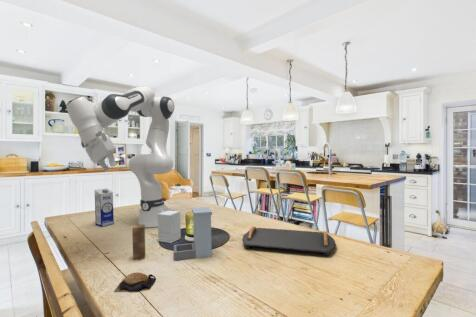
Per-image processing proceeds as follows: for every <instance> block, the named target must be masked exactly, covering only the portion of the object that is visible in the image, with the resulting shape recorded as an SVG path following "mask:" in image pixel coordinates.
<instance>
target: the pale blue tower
mask: <svg viewBox="0 0 476 317" xmlns="http://www.w3.org/2000/svg"><path fill="white" fill-rule="evenodd" d="M191 211H192V214H193V215H192V218H193V219H192V220H193V242H190V243H182V244H181V243H179V244H173V262H175V261H176V262H177V261H182V260H191V259H192V260H193V259H199V258H200V259H201V258H209V257H213V256H212V255H213V254H212V253H213V252H212V215H213V211H212V209H211V208H210V206H206V207H205V206H204V207H192V208H191Z"/></svg>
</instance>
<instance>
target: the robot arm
mask: <svg viewBox="0 0 476 317" xmlns="http://www.w3.org/2000/svg"><path fill="white" fill-rule="evenodd" d="M66 111H67V114H68V116H69V118H70V120H71V122H72V124H73V126H75V128H76V130H77V133H78V136H79V137H80V140H81V141H80V142H81V143H80V145H81V147H82V149H85V151H86V153H87V155H88V157H89V160H91V162H92V163H93V164H96V165H97V164H98V165H99V166H100V168H102V170H103V171H104V172H107V171H108V170H110V167H114V166H116V165H117V162H116V160H115V155H114V154H113V153H115V152H116V150H117V149H116V146H115V145H114V142H113V141H112V139H111V137H110V136H109V135H108V134H106V132H105V130H104V129H106V128H108V127H110V126H112V125H113V124H115V123H116V122H117V121H119V120H120V119H123V118H125V117H127V115H129V113H130V112H133V113H135V112H136V113H137V114H138V115H139V117H144V118H151V123H150V124H149V128H148V131H147V135H146V139H145V144H146V146H147V147H148V148H149V149H151V150H150V151H151V152H150V153H147V154H138V155H133V156H131V157H130V158H129V160H128V169H129V170H130V171H131V172H132V173H133V175H135V177H136V178H137V180H138V182H139V183H138V184H139V186H140V197H141V198H140V201H139V204H140V208H139V214H138V215H139V217H138V221H137V225H144V224H145V228H158V214H159V213H162V212H165V211H172V210H171V208H169V207H168V205H166V204H165V202H166V201H167V197H163V189H162V188H163V185H162V183H161V182H160V181H158V180H157V179H156V178H155V175H163V174H168V173H170V172H171V171H172V169H173V167H174V160H173V159H172V157H171V156H170V155H169V153H168V151H167V143H168V142H167V141H168V136H169V131H170V118H171V117H172V115H173V114H174V111H175V102H174V101H173V99H172V97H169V96H156V94H155V92H154V90H153V89H152V87H150V86H147V85H143V86H142V85H141V86H137V87H133V88H130V89H129V90H127V91H126V92H124V93H123V94H117V93H110V94H108V95H107V96H106V97H105V98H103V99H102V100H101V101H100V102H98V103H95V102H92V101H90V100H88V99H87V98H86V97H85V96H77V97H75V98H74V99H72V100H70V101H69V102H67V104H66ZM105 159H108V162H109V165H110V167H109V165H108V164H106V161H105Z"/></svg>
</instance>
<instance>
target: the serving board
mask: <svg viewBox="0 0 476 317" xmlns="http://www.w3.org/2000/svg"><path fill="white" fill-rule="evenodd" d="M242 244H243V245H244V247H245V249H248V250H249V249H251V247H260V248H268V249H269V248H270V249H281V250H291V251H301V252H314V253H323V257H329V256H330V253H331V252H332V251H333V250H334V249H335V247H336V240H335V239H334V238H333V237H332V236H331V235H329V233H328V232H327V231H325V230H324V231H323V232H321V231H310V230H309V231H308V230H296V229H292V230H291V229H283V228H282V229H281V228H280V229H279V228H265V227H256V226H252V227H250V229H249V230H248V231H247V232H246V233H245V234H243V236H242Z"/></svg>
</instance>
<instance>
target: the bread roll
mask: <svg viewBox="0 0 476 317" xmlns="http://www.w3.org/2000/svg"><path fill="white" fill-rule="evenodd" d="M156 281H157V278H156V276H155V275H153V274H145V273H144V272H143V273H142V272H132V273H130V274H128V275H126V276H125V277H124V278H123V279H122V280H121V281H120V283H119V284H118V285H117V286H116V288H115V289H114V290H113V292H114V293H132V292H133V293H134V292H144V291H150V290H151V289H152V287H153V285H154V284H155V283H156Z"/></svg>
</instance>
